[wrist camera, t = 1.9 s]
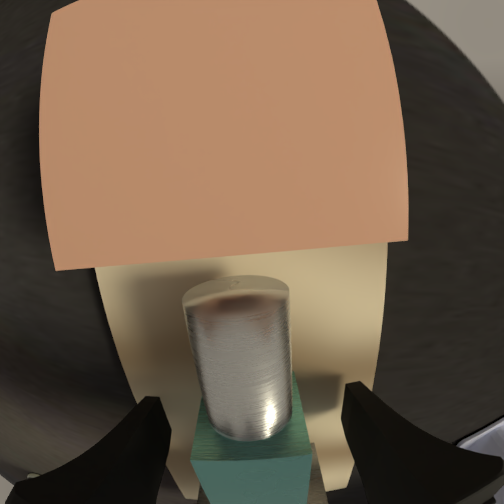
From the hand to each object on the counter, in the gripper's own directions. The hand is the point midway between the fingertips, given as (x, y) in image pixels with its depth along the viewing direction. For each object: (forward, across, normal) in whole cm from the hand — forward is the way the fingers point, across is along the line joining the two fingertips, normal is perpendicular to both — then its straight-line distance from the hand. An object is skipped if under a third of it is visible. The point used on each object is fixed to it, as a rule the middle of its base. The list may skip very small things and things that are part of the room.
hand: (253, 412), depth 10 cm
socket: (+1, 0, -10) cm, 10 cm away
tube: (0, 0, +2) cm, 2 cm away
